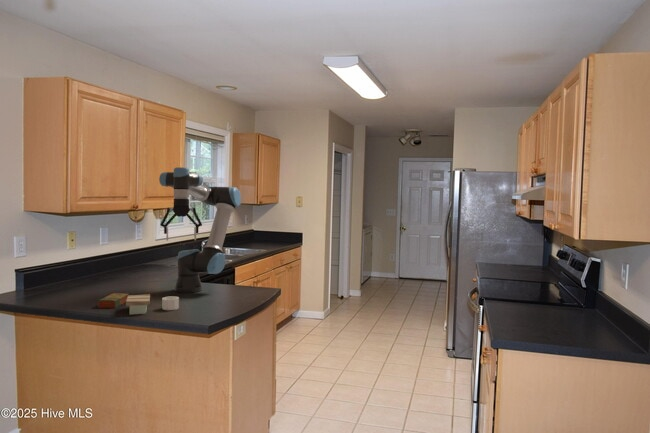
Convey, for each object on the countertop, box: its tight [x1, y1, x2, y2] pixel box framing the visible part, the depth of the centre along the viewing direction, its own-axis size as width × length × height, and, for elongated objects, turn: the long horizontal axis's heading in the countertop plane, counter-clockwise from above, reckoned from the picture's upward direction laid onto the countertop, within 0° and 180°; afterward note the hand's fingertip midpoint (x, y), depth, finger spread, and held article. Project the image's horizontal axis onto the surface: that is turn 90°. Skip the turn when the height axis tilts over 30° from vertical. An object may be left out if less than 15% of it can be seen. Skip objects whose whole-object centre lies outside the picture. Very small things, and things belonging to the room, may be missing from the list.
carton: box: [97, 292, 129, 309], centre depth 246 cm, size 8×16×4 cm, turn 179°
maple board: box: [125, 293, 151, 307], centre depth 234 cm, size 15×10×2 cm, turn 18°
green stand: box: [129, 305, 148, 315], centre depth 234 cm, size 15×7×4 cm, turn 18°
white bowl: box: [161, 295, 180, 311], centre depth 238 cm, size 8×8×5 cm
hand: (181, 240), depth 250 cm, fingers open, 13 cm apart
